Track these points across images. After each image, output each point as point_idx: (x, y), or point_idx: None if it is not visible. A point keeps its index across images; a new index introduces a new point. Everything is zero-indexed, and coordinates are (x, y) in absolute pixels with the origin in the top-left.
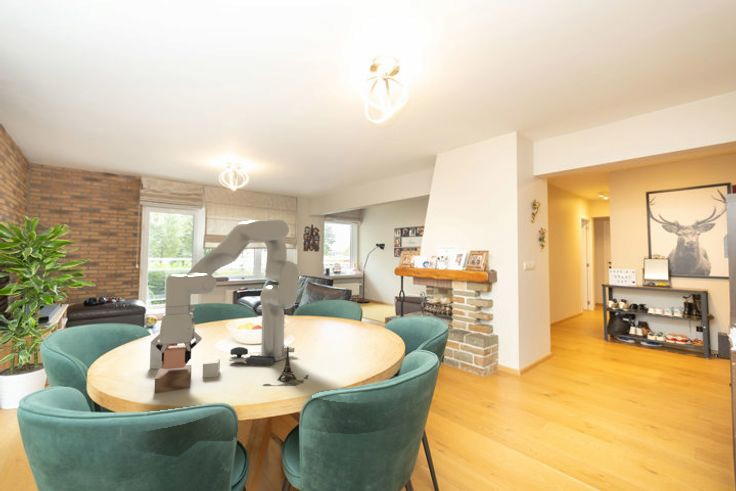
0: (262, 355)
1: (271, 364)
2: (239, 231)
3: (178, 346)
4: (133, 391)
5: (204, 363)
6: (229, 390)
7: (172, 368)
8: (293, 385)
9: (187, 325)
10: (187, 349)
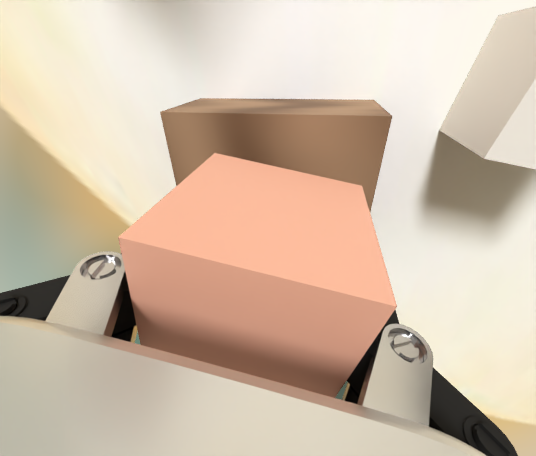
0: None
1: None
2: None
3: (248, 309)
4: (132, 176)
5: (501, 151)
6: (479, 332)
7: (251, 151)
8: None
9: None
10: (352, 386)
